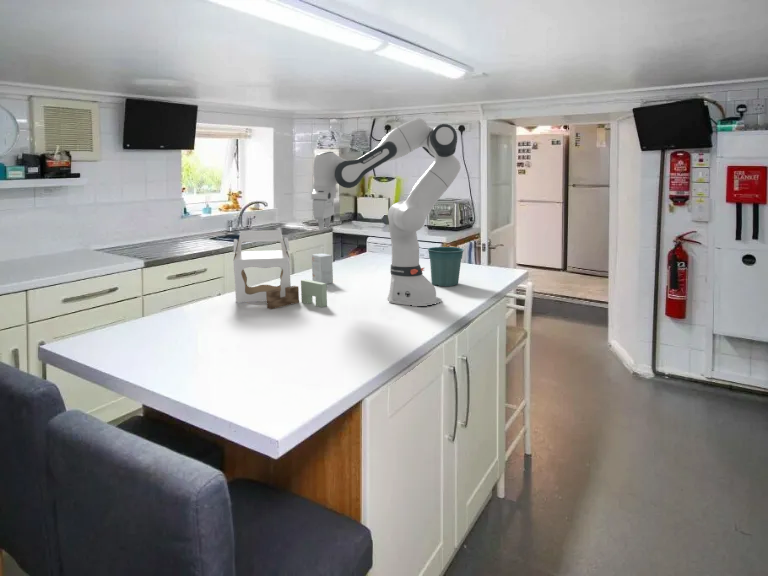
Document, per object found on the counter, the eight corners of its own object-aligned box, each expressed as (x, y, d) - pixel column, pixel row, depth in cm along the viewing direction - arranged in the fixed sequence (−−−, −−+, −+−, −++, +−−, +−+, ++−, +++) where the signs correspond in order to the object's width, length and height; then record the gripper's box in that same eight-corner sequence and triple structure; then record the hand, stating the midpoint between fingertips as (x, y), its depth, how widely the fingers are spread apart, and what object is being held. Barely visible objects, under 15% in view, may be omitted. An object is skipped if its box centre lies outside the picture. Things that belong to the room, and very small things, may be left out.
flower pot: (436, 278, 276) (437, 245, 272) (468, 282, 268) (469, 247, 264) (420, 285, 262) (421, 250, 259) (454, 289, 254) (455, 253, 250)
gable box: (290, 292, 248) (288, 227, 242) (291, 300, 236) (289, 231, 230) (237, 295, 244) (233, 229, 238) (235, 303, 232) (231, 233, 226)
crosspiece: (327, 306, 226) (326, 283, 224) (322, 307, 224) (321, 284, 222) (306, 301, 234) (305, 279, 232) (301, 302, 232) (300, 280, 230)
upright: (294, 301, 234) (294, 285, 232) (299, 302, 232) (298, 286, 231) (267, 308, 223) (266, 291, 222) (271, 309, 222) (270, 292, 220)
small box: (333, 283, 267) (332, 255, 265) (321, 284, 264) (320, 256, 261) (323, 280, 274) (322, 252, 271) (312, 282, 270) (311, 254, 267)
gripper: (323, 192, 240) (323, 225, 243) (310, 194, 220) (310, 231, 223) (338, 192, 239) (337, 226, 242) (326, 195, 219) (326, 231, 222)
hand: (324, 228), depth 233 cm, fingers open, 8 cm apart
